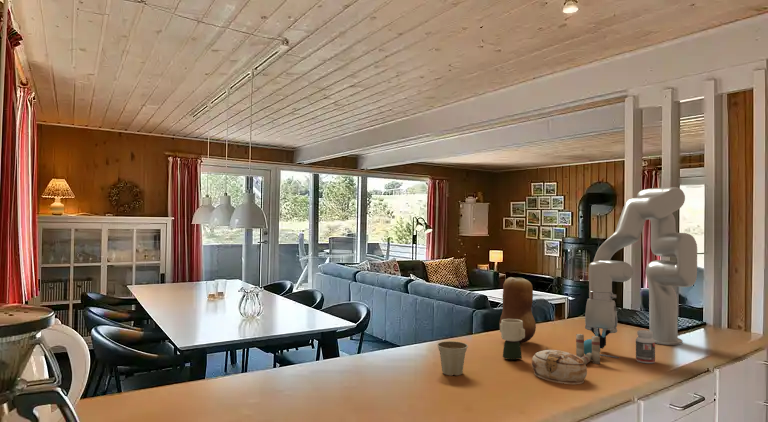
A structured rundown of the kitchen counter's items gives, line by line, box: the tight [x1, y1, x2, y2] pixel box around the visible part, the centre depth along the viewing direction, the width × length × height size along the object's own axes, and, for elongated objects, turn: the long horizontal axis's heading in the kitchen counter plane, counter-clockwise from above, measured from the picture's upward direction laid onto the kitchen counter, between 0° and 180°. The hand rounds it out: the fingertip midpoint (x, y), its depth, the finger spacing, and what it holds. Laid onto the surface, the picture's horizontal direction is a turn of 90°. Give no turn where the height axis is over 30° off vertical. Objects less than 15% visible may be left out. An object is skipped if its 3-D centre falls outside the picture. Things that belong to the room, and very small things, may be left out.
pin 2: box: [591, 335, 601, 365], centre depth 161 cm, size 2×2×8 cm
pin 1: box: [575, 333, 585, 358], centre depth 165 cm, size 2×2×8 cm
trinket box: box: [531, 349, 588, 385], centre depth 146 cm, size 13×15×8 cm
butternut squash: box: [498, 276, 537, 345], centre depth 189 cm, size 14×13×25 cm
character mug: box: [499, 319, 525, 361], centre depth 166 cm, size 11×7×13 cm, turn 32°
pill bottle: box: [635, 329, 656, 364], centre depth 163 cm, size 6×6×10 cm
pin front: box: [581, 353, 592, 365], centre depth 161 cm, size 2×2×8 cm
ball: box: [584, 338, 592, 355], centre depth 169 cm, size 6×6×6 cm
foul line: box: [600, 353, 620, 359], centre depth 171 cm, size 1×14×1 cm, turn 52°
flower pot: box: [436, 340, 469, 377], centre depth 150 cm, size 9×9×9 cm
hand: (601, 347), depth 175 cm, fingers closed
